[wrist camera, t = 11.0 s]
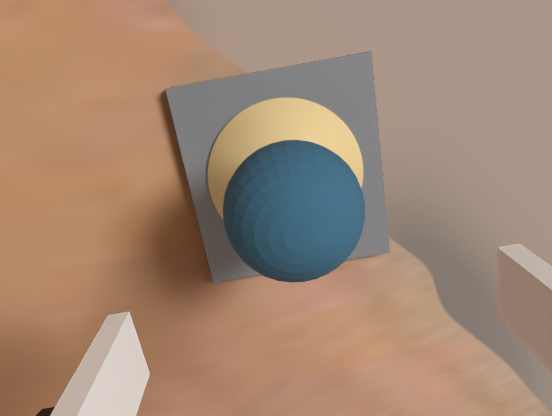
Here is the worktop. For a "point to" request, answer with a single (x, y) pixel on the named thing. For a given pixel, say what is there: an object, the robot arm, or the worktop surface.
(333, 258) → the light bulb
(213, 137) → the socket board
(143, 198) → the worktop surface
